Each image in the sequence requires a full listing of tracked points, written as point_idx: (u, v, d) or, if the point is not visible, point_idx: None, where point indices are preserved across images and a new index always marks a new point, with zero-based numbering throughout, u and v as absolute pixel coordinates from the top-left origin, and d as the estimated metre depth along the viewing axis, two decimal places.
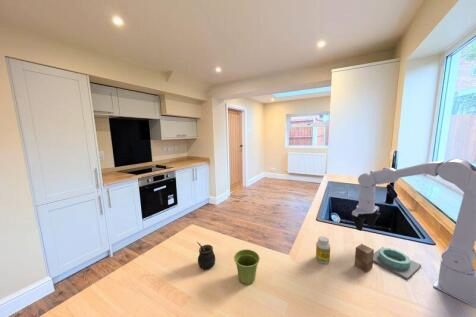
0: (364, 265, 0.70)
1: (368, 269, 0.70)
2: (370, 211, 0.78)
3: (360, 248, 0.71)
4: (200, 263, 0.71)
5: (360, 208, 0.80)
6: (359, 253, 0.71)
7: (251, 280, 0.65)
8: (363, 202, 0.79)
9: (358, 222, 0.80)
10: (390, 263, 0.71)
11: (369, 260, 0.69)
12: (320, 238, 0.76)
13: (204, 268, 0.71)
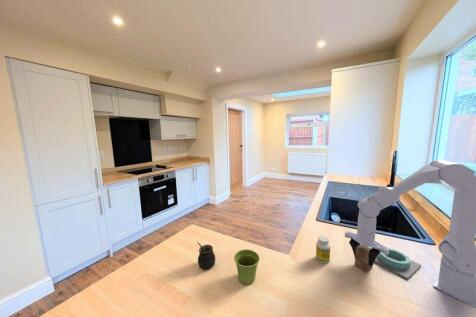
0: (364, 265, 0.70)
1: (368, 269, 0.70)
2: (358, 240, 0.70)
3: (360, 248, 0.71)
4: (200, 263, 0.71)
5: None
6: (360, 253, 0.71)
7: (251, 280, 0.65)
8: None
9: None
10: (390, 263, 0.71)
11: (369, 260, 0.69)
12: (320, 238, 0.76)
13: (204, 268, 0.71)
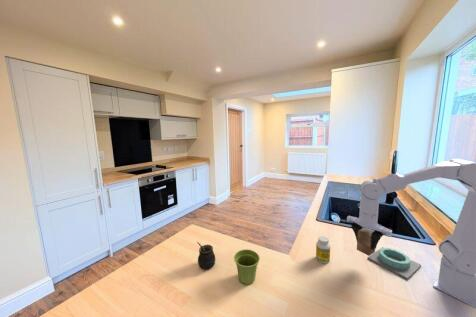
0: (366, 248, 0.69)
1: (370, 252, 0.69)
2: (361, 223, 0.69)
3: (362, 231, 0.70)
4: (200, 263, 0.71)
5: None
6: (362, 237, 0.70)
7: (251, 280, 0.65)
8: None
9: None
10: (390, 263, 0.71)
11: None
12: (320, 238, 0.76)
13: (204, 268, 0.71)
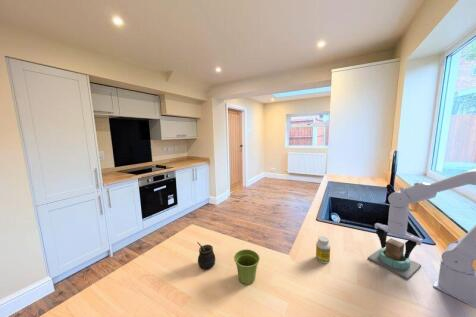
0: (395, 258, 0.71)
1: None
2: (390, 231, 0.72)
3: (391, 242, 0.73)
4: (200, 263, 0.71)
5: None
6: (390, 247, 0.72)
7: (251, 280, 0.65)
8: None
9: None
10: (390, 263, 0.71)
11: (400, 253, 0.71)
12: (320, 238, 0.76)
13: (204, 268, 0.71)
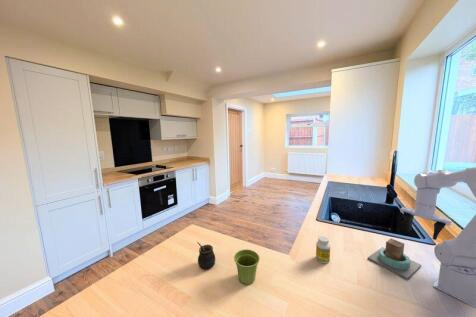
0: (395, 258, 0.71)
1: None
2: (417, 213, 0.74)
3: (391, 242, 0.73)
4: (200, 263, 0.71)
5: None
6: (390, 247, 0.72)
7: (251, 280, 0.65)
8: (415, 203, 0.76)
9: None
10: (390, 263, 0.71)
11: (400, 253, 0.71)
12: (320, 238, 0.76)
13: (204, 268, 0.71)
